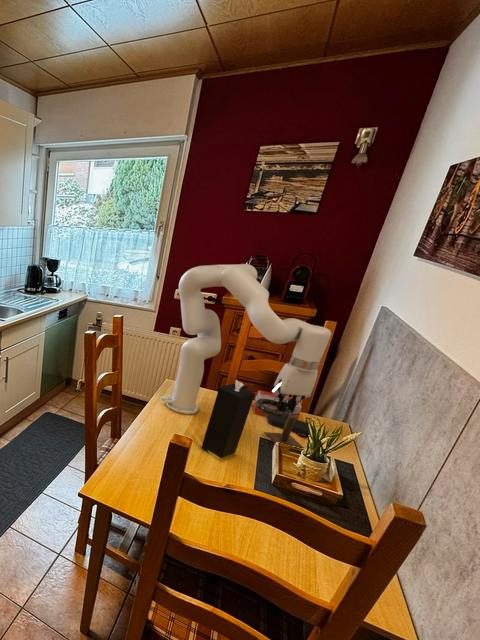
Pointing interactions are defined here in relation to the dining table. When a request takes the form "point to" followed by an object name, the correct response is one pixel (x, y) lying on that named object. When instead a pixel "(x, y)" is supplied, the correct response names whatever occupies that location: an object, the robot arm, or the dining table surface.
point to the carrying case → (298, 428)
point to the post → (285, 434)
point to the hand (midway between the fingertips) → (284, 410)
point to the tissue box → (227, 419)
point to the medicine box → (273, 397)
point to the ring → (270, 411)
